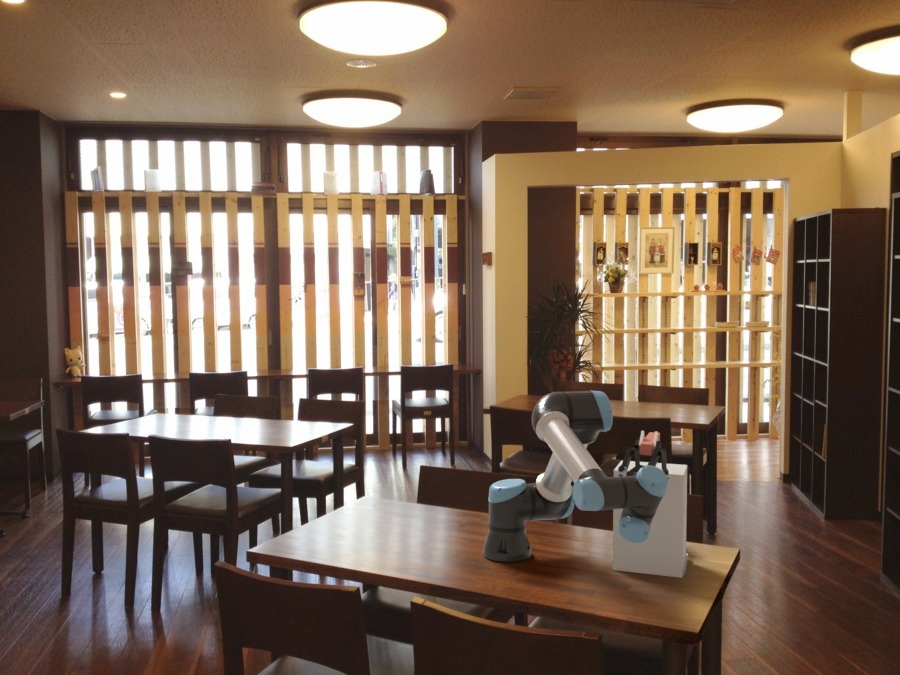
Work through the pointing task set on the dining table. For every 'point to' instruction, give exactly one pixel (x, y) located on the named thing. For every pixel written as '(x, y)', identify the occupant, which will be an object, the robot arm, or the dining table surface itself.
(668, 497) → the white upright block
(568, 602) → the dining table surface
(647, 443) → the lever bar
